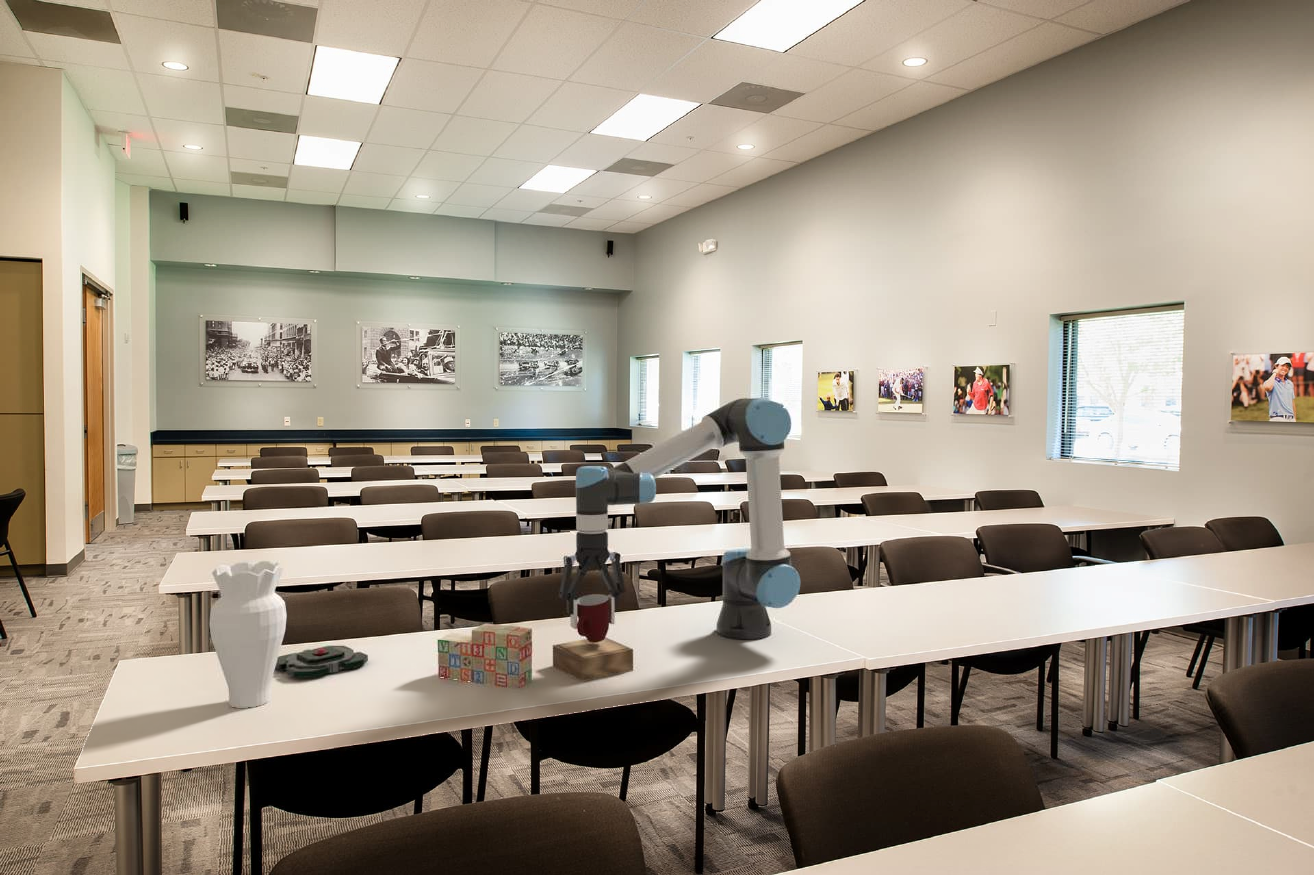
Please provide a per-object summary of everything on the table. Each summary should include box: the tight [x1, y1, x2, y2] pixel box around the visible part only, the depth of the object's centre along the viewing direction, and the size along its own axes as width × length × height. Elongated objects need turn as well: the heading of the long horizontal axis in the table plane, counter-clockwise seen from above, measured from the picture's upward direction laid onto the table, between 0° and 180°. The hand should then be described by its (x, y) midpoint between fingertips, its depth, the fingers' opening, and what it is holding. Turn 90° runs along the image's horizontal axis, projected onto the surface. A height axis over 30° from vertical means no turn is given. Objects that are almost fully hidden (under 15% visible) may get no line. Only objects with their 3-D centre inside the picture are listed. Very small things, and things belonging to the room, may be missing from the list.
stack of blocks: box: [437, 623, 533, 690], centre depth 193 cm, size 21×6×12 cm, turn 70°
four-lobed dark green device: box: [275, 645, 369, 678], centre depth 203 cm, size 18×18×5 cm
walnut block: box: [552, 637, 634, 682], centre depth 202 cm, size 14×14×5 cm
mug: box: [575, 593, 610, 643], centre depth 201 cm, size 11×8×10 cm
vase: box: [208, 560, 288, 709], centre depth 178 cm, size 15×15×29 cm
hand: (592, 625), depth 202 cm, fingers closed on mug, 9 cm apart
